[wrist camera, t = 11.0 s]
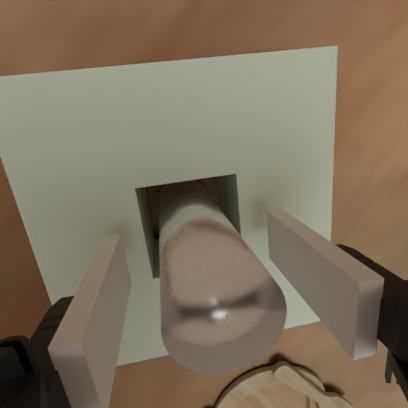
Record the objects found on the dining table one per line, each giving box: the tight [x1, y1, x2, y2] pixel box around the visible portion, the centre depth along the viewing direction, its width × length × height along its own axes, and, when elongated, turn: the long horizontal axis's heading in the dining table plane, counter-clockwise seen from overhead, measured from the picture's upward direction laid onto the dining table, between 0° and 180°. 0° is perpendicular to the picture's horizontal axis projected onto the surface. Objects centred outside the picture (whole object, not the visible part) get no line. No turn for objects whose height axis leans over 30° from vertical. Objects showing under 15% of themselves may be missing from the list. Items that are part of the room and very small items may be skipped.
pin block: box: [0, 46, 338, 367], centre depth 18 cm, size 18×18×6 cm
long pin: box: [159, 180, 287, 374], centre depth 15 cm, size 4×4×14 cm
